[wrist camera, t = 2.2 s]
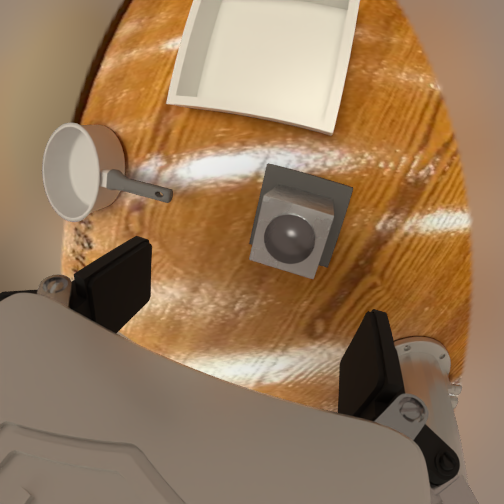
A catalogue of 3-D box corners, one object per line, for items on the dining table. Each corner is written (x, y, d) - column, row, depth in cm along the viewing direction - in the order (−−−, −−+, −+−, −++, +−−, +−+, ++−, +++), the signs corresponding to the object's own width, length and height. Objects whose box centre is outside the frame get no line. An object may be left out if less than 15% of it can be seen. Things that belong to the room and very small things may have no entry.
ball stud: (352, 187, 24) (356, 194, 20) (327, 265, 27) (326, 283, 24) (268, 163, 25) (258, 166, 22) (250, 241, 28) (239, 256, 25)
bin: (358, 9, 17) (361, -13, 13) (331, 136, 23) (332, 133, 19) (220, -7, 19) (202, -25, 15) (190, 108, 25) (166, 103, 21)
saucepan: (189, 237, 30) (162, 256, 25) (71, 200, 33) (42, 211, 28) (206, 131, 26) (177, 130, 21) (76, 120, 29) (44, 122, 24)
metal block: (332, 199, 24) (334, 217, 18) (317, 249, 26) (312, 281, 20) (279, 183, 25) (262, 196, 19) (267, 234, 27) (248, 261, 21)
